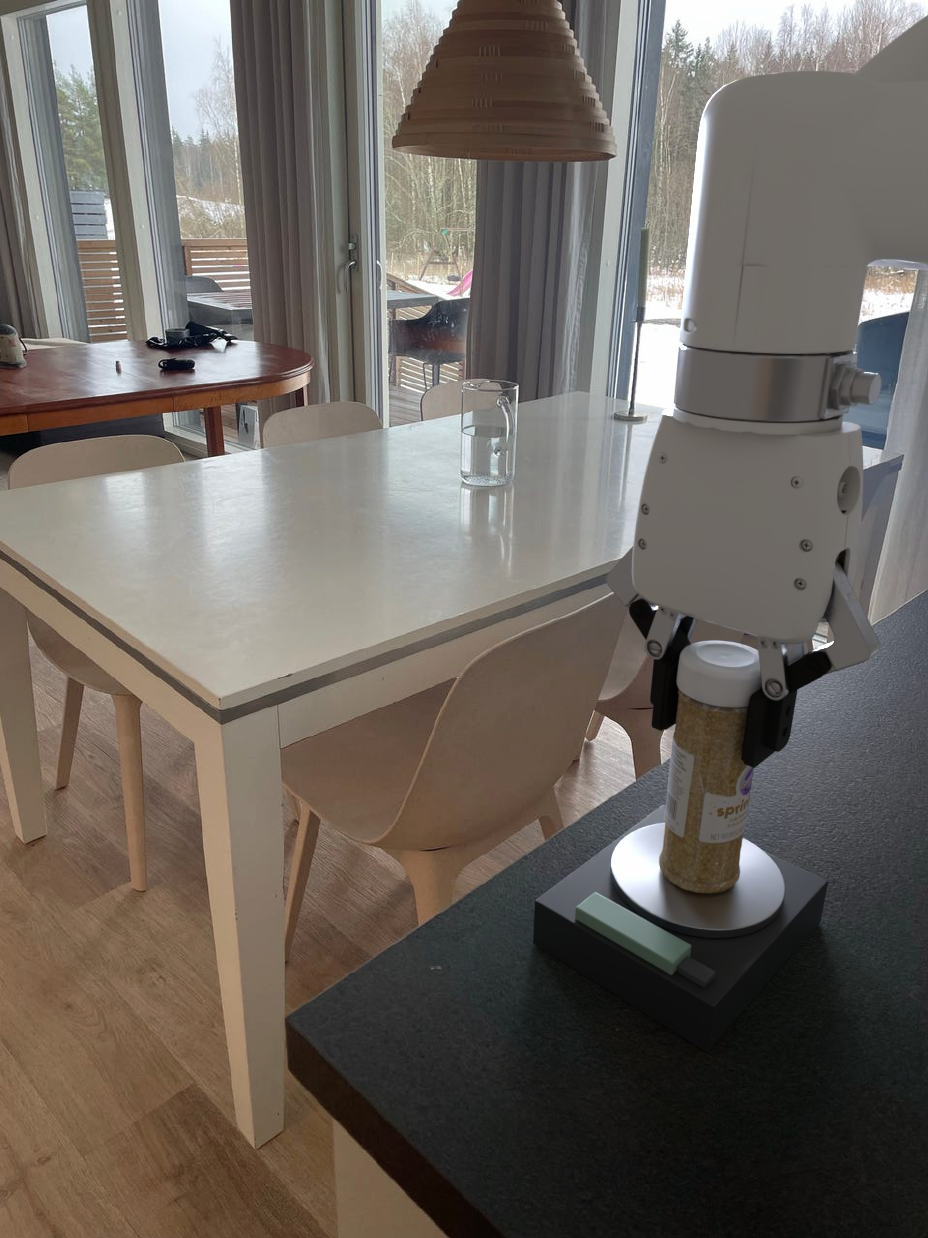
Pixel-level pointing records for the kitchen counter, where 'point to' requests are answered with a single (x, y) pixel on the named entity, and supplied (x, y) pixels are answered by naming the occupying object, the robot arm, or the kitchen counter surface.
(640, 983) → the scale
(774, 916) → the scale pan
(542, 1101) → the kitchen counter surface
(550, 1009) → the kitchen counter surface
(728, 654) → the sprinkles bottle
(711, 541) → the robot arm
